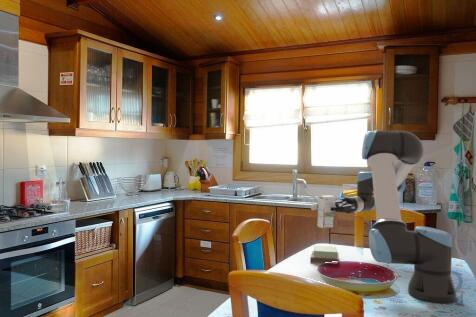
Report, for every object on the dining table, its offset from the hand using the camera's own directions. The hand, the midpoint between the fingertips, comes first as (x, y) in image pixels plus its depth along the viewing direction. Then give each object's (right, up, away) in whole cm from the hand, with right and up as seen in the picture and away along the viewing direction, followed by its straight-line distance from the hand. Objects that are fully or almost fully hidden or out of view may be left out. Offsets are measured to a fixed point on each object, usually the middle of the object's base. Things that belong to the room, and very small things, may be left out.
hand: (318, 208), depth 179 cm
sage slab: (+4, -22, +3) cm, 22 cm away
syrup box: (+4, -9, +3) cm, 10 cm away
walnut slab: (+4, -25, +3) cm, 25 cm away
